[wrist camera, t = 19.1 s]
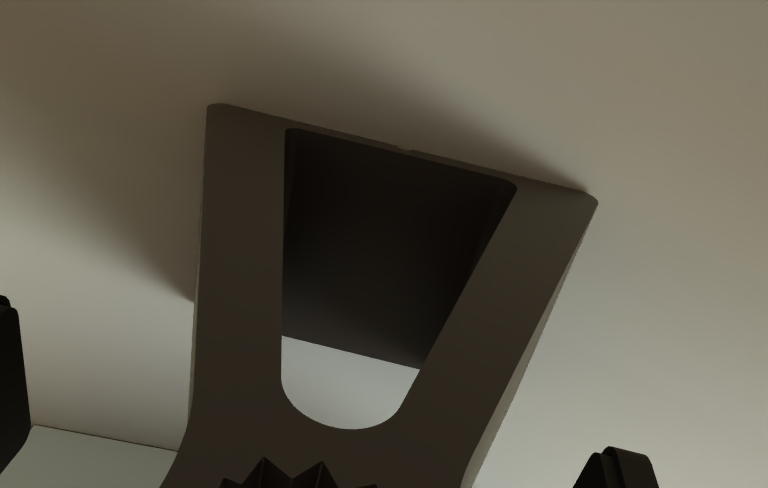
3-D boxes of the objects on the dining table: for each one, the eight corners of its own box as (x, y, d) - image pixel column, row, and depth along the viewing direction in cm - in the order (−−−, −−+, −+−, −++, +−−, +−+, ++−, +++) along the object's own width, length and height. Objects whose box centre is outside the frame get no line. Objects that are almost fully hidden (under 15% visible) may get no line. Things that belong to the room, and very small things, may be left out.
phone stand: (597, 194, 14) (940, 1020, 4) (513, 384, 17) (576, 1134, 7) (214, 98, 14) (-489, 660, 4) (198, 305, 17) (-219, 935, 7)
